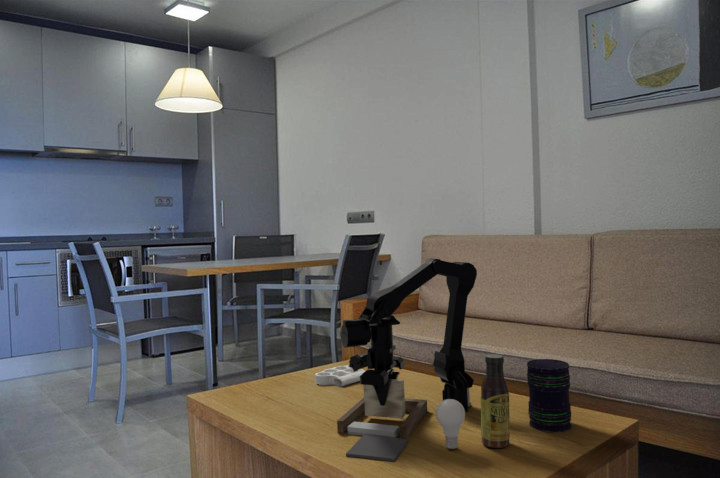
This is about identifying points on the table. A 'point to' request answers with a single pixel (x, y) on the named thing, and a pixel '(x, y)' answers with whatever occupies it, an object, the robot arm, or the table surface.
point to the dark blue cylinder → (549, 395)
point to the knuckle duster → (338, 376)
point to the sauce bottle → (495, 404)
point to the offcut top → (374, 429)
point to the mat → (377, 448)
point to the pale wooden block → (393, 403)
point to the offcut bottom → (372, 434)
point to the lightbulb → (450, 420)
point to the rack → (406, 428)
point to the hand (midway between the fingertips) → (384, 403)
